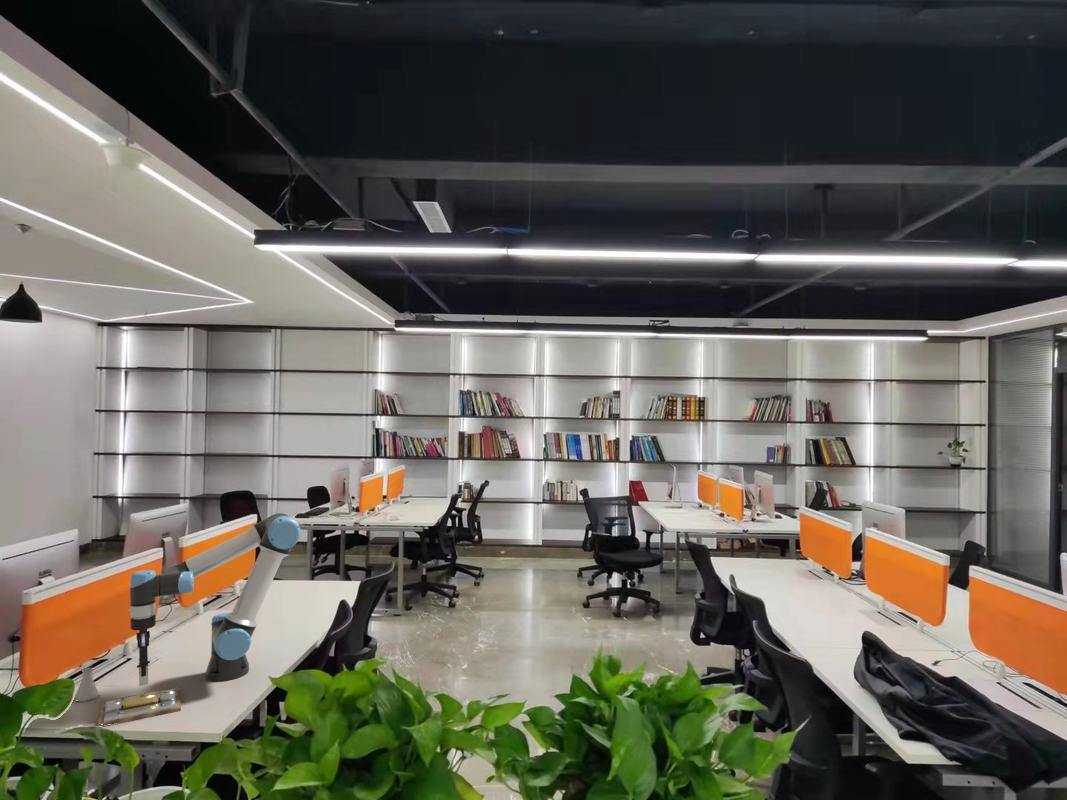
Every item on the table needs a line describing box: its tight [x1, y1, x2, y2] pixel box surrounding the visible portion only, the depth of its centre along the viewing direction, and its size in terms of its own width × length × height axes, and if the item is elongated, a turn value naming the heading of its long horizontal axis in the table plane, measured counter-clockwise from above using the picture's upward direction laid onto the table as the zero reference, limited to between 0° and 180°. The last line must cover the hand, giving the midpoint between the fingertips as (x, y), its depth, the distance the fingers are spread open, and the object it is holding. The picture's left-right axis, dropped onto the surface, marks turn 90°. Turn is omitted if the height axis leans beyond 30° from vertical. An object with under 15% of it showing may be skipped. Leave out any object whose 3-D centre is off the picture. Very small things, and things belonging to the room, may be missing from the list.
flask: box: [73, 667, 100, 703], centre depth 225 cm, size 7×7×10 cm
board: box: [97, 686, 182, 728], centre depth 217 cm, size 23×20×1 cm
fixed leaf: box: [103, 688, 177, 722], centre depth 212 cm, size 21×8×4 cm, turn 121°
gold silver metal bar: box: [122, 691, 160, 710], centre depth 216 cm, size 20×8×4 cm, turn 121°
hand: (143, 684), depth 221 cm, fingers closed
